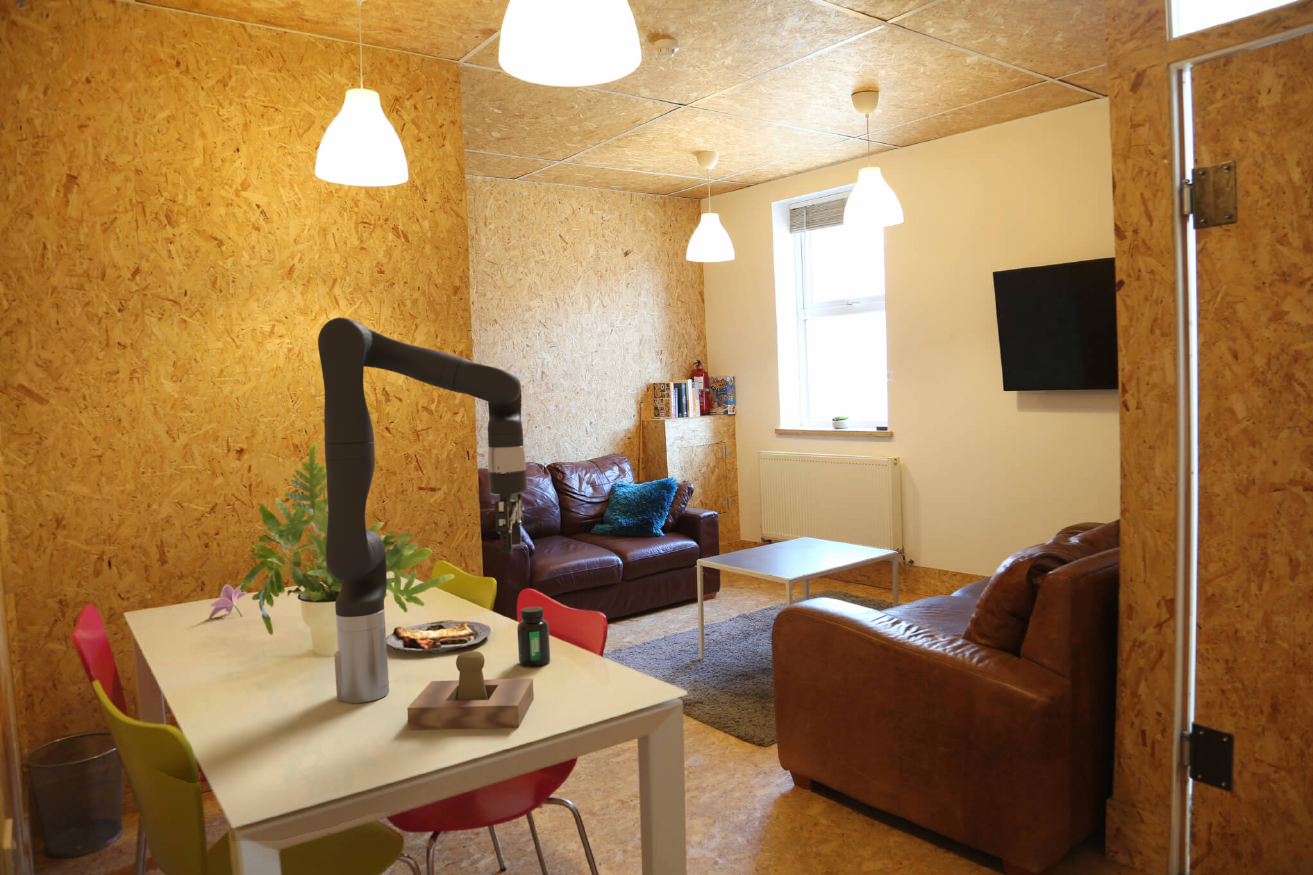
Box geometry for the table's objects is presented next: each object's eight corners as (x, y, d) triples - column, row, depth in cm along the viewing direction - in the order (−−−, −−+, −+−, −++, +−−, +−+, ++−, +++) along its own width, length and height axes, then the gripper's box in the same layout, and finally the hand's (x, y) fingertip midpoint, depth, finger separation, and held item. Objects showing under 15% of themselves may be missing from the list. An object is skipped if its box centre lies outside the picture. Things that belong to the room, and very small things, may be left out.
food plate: (383, 661, 193) (383, 646, 193) (385, 635, 215) (385, 621, 215) (495, 651, 200) (495, 636, 200) (486, 626, 222) (486, 613, 222)
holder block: (408, 729, 153) (407, 707, 153) (432, 700, 167) (431, 680, 167) (518, 727, 152) (517, 705, 152) (533, 698, 166) (532, 678, 166)
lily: (255, 612, 249) (239, 583, 249) (264, 603, 240) (246, 573, 240) (215, 633, 241) (197, 604, 241) (222, 625, 232) (204, 594, 232)
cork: (457, 718, 156) (454, 659, 155) (455, 707, 161) (452, 650, 161) (490, 713, 157) (487, 655, 157) (487, 702, 163) (484, 646, 162)
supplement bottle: (541, 668, 184) (539, 614, 183) (513, 666, 186) (510, 612, 185) (555, 658, 190) (552, 605, 190) (528, 656, 192) (525, 604, 192)
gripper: (497, 466, 180) (500, 542, 181) (479, 473, 166) (484, 555, 167) (532, 464, 180) (535, 541, 180) (518, 471, 165) (522, 554, 166)
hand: (511, 547), depth 174 cm, fingers open, 8 cm apart
